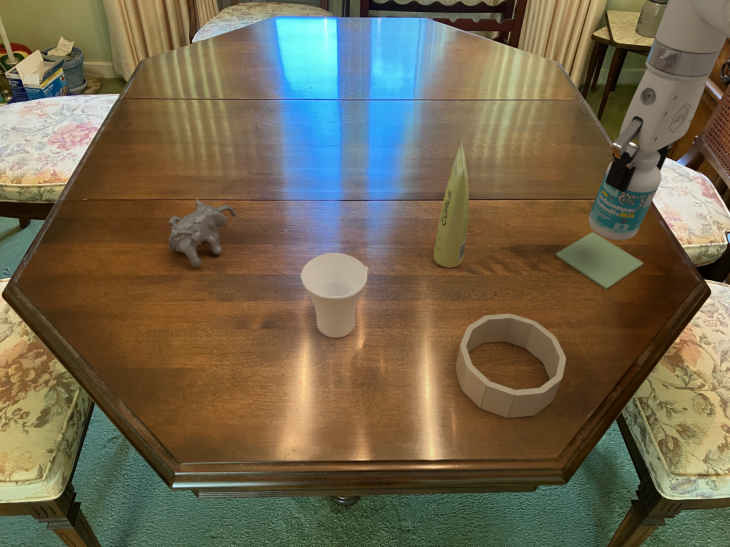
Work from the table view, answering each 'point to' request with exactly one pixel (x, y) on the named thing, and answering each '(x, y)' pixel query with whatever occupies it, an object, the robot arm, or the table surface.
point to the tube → (453, 216)
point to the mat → (599, 260)
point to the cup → (334, 291)
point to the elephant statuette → (198, 230)
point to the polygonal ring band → (521, 335)
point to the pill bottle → (626, 200)
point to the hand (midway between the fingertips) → (632, 177)
